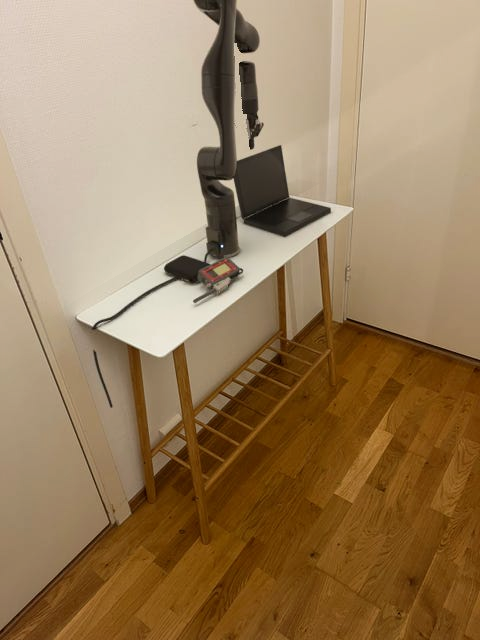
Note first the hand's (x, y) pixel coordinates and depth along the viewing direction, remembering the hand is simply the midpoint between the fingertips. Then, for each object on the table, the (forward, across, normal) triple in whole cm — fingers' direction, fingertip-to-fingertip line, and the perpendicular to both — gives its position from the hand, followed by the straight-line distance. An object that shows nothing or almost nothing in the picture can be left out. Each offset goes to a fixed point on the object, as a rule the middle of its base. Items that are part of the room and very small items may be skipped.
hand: (250, 149), depth 164 cm
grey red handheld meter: (+18, +34, -51) cm, 63 cm away
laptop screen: (+11, +5, 0) cm, 12 cm away
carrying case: (+23, +20, -50) cm, 58 cm away
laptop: (+23, +17, 0) cm, 28 cm away
